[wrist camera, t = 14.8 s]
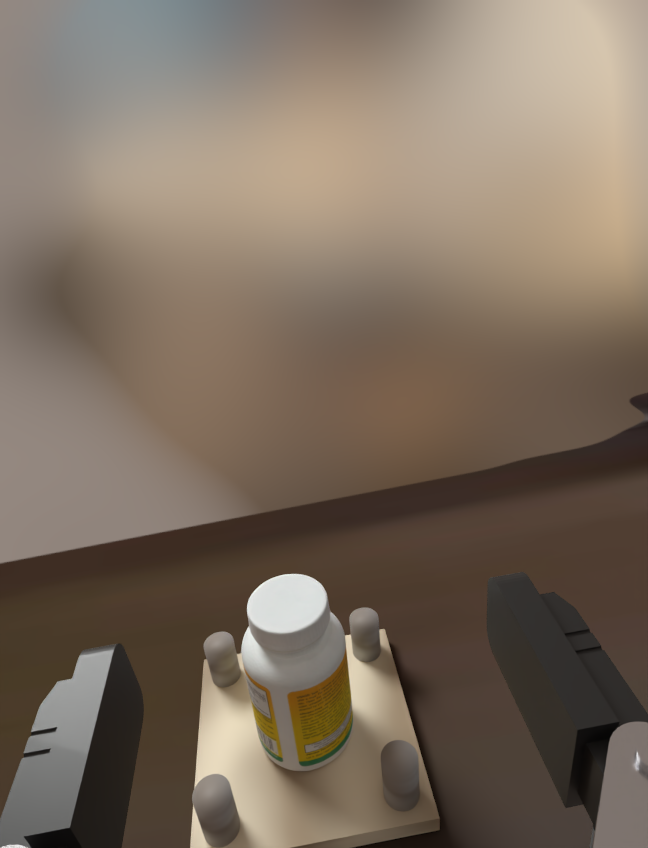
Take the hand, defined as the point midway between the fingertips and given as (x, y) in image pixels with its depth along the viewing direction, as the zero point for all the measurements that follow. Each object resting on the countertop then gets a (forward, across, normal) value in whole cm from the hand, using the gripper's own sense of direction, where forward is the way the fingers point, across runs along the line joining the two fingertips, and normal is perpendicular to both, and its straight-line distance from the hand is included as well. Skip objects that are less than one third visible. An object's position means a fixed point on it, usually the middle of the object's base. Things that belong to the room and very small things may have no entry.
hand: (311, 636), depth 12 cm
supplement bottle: (+12, +2, +20) cm, 24 cm away
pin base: (+12, +2, +21) cm, 24 cm away
